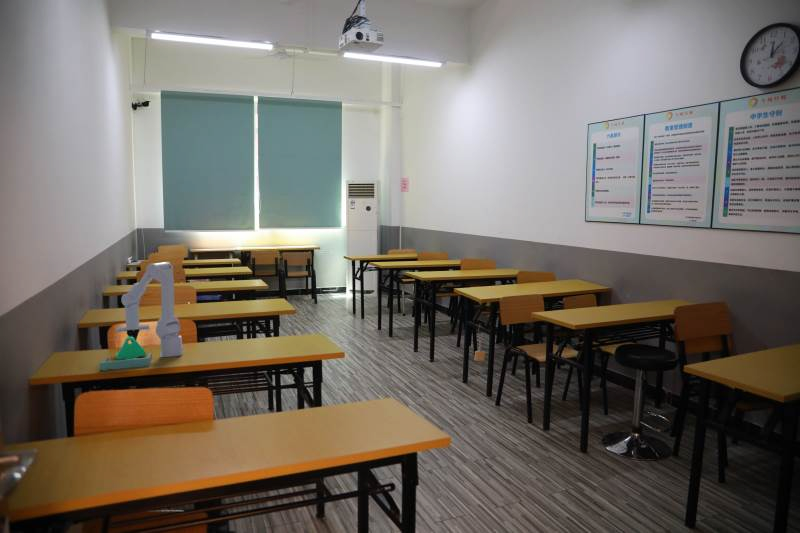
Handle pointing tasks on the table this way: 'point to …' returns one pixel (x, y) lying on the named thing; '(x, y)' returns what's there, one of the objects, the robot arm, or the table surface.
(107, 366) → the dock
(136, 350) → the camera mount
